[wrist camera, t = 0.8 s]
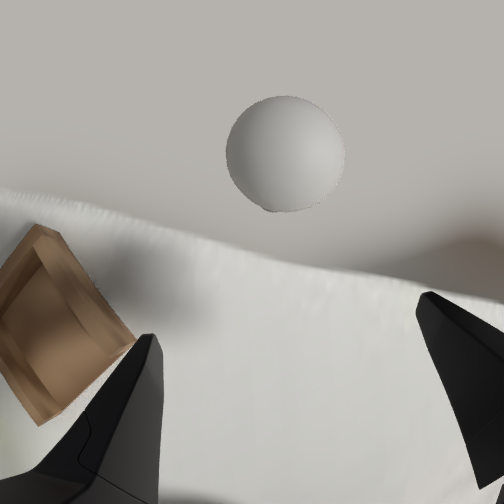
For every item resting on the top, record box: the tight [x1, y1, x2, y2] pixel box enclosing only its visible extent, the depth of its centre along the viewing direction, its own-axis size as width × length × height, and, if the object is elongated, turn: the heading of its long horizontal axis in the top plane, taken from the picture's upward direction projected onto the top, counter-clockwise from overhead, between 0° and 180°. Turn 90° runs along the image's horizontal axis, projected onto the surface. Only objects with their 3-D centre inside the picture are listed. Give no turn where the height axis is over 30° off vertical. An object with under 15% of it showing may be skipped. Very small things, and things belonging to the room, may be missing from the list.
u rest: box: [0, 224, 137, 427], centre depth 20 cm, size 11×11×4 cm
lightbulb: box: [226, 96, 345, 212], centre depth 18 cm, size 6×6×11 cm
